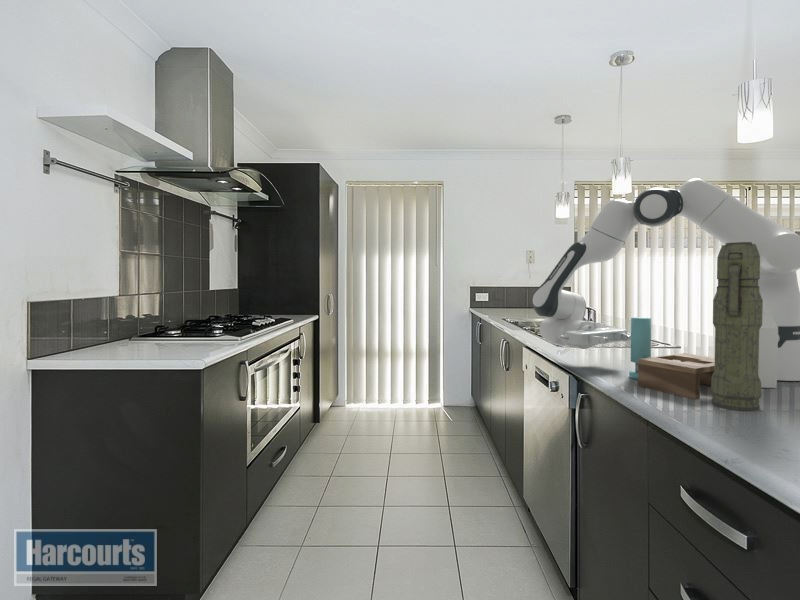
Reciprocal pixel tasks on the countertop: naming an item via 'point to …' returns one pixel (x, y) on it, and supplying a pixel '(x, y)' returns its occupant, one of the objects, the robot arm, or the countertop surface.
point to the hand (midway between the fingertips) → (618, 339)
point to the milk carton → (768, 351)
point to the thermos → (737, 328)
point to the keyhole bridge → (676, 373)
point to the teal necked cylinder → (640, 342)
